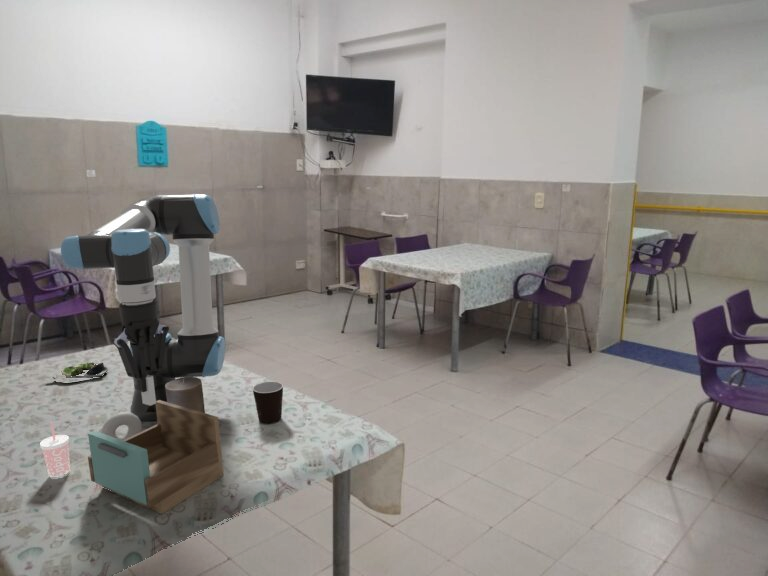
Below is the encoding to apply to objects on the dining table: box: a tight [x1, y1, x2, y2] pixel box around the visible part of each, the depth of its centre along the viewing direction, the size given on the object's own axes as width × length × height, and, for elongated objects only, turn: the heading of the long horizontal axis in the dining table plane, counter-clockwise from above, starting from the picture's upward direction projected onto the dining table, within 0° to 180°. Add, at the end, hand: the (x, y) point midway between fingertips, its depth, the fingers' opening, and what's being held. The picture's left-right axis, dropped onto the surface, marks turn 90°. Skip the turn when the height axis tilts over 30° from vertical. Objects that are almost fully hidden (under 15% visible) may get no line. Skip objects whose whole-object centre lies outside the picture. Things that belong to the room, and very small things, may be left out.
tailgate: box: [87, 430, 150, 505], centre depth 122 cm, size 18×3×12 cm, turn 59°
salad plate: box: [61, 362, 108, 378], centre depth 202 cm, size 19×18×5 cm
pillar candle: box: [165, 377, 206, 413], centre depth 159 cm, size 10×10×15 cm
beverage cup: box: [39, 420, 71, 477], centre depth 136 cm, size 6×6×14 cm
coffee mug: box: [252, 380, 284, 425], centre depth 165 cm, size 12×9×10 cm
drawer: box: [87, 400, 224, 515], centre depth 131 cm, size 21×20×15 cm
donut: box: [100, 411, 143, 440], centre depth 149 cm, size 10×4×10 cm, turn 129°
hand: (149, 403), depth 128 cm, fingers closed
